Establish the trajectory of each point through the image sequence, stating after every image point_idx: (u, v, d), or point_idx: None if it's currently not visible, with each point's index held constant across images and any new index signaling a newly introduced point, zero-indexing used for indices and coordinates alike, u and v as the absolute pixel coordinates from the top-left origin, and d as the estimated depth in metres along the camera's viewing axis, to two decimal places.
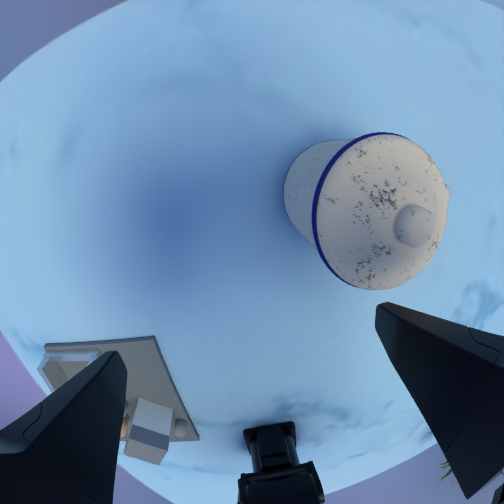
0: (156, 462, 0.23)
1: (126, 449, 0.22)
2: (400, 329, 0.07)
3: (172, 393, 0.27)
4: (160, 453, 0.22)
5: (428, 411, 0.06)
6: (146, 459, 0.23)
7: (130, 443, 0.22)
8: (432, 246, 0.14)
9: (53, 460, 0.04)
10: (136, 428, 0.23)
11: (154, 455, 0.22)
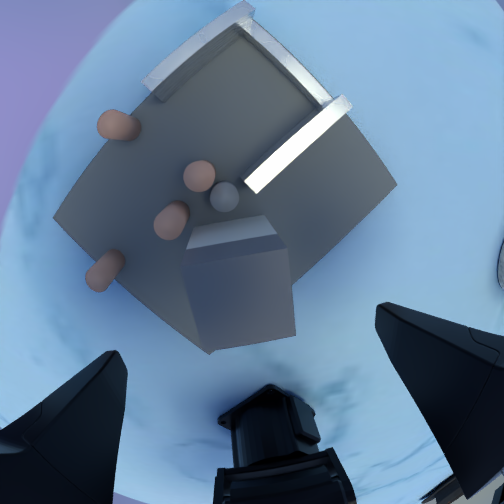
0: (213, 343, 0.12)
1: (216, 264, 0.10)
2: (400, 329, 0.07)
3: (313, 258, 0.17)
4: (270, 331, 0.12)
5: (428, 411, 0.06)
6: (206, 321, 0.11)
7: (264, 260, 0.11)
8: None
9: (53, 459, 0.04)
10: None
11: (247, 326, 0.11)
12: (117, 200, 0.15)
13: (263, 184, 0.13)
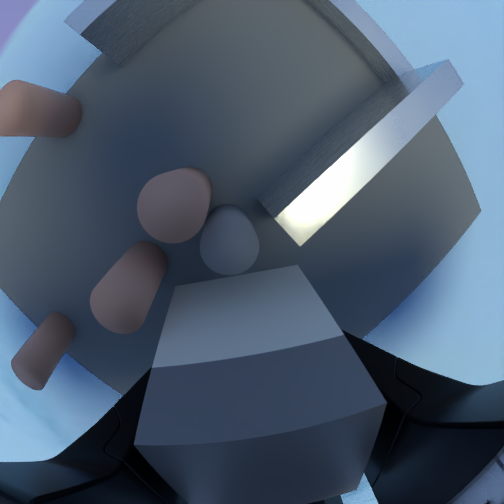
0: None
1: (218, 446, 0.04)
2: None
3: (366, 325, 0.10)
4: (318, 495, 0.05)
5: None
6: (204, 498, 0.04)
7: (331, 431, 0.04)
8: None
9: (143, 473, 0.04)
10: None
11: (279, 498, 0.05)
12: (51, 239, 0.08)
13: (316, 225, 0.06)
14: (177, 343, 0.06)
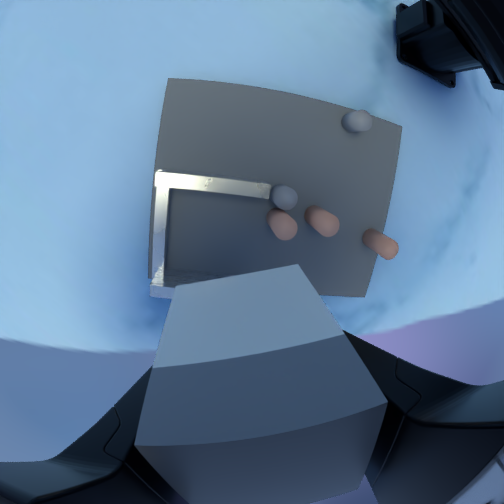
0: None
1: (219, 446, 0.04)
2: None
3: (279, 96, 0.17)
4: (320, 495, 0.05)
5: None
6: (205, 498, 0.04)
7: (332, 430, 0.04)
8: None
9: (143, 473, 0.04)
10: None
11: (280, 498, 0.05)
12: (329, 260, 0.21)
13: (261, 185, 0.16)
14: (177, 343, 0.06)
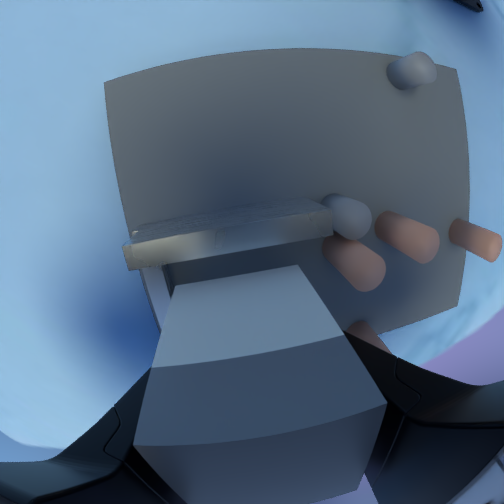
0: None
1: (218, 447, 0.04)
2: None
3: (287, 56, 0.09)
4: (318, 495, 0.05)
5: None
6: (203, 499, 0.04)
7: (332, 431, 0.04)
8: None
9: (143, 473, 0.04)
10: None
11: (278, 499, 0.05)
12: (415, 278, 0.13)
13: (315, 214, 0.08)
14: (177, 343, 0.06)
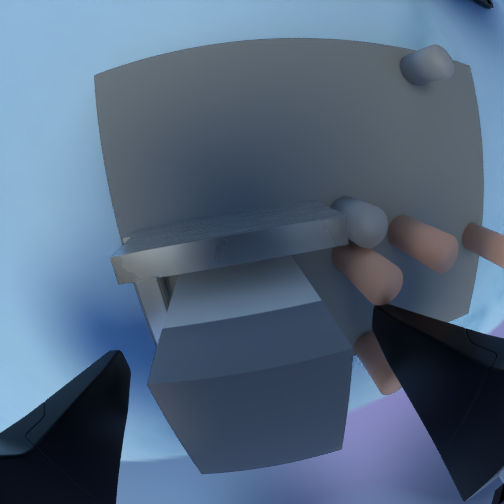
0: (216, 467, 0.06)
1: (216, 382, 0.05)
2: (397, 330, 0.07)
3: (294, 46, 0.08)
4: (305, 451, 0.06)
5: (425, 413, 0.06)
6: (203, 448, 0.06)
7: (308, 371, 0.05)
8: None
9: (56, 460, 0.04)
10: None
11: (270, 451, 0.06)
12: (428, 286, 0.12)
13: (328, 221, 0.07)
14: (183, 310, 0.07)
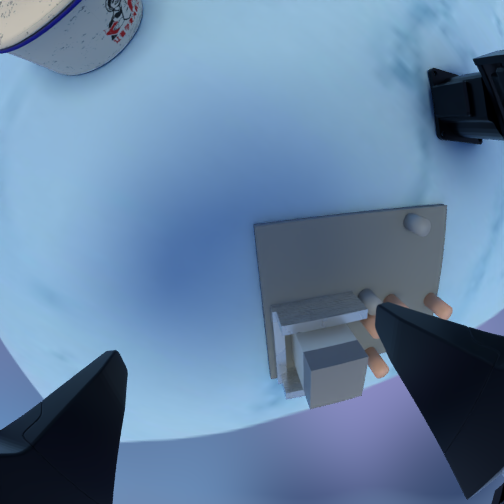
0: (317, 404, 0.18)
1: (331, 367, 0.17)
2: (400, 329, 0.07)
3: (354, 219, 0.20)
4: (349, 394, 0.18)
5: (428, 411, 0.06)
6: (317, 394, 0.17)
7: (355, 363, 0.17)
8: None
9: (53, 460, 0.04)
10: None
11: (338, 394, 0.18)
12: None
13: (361, 311, 0.19)
14: (307, 344, 0.19)
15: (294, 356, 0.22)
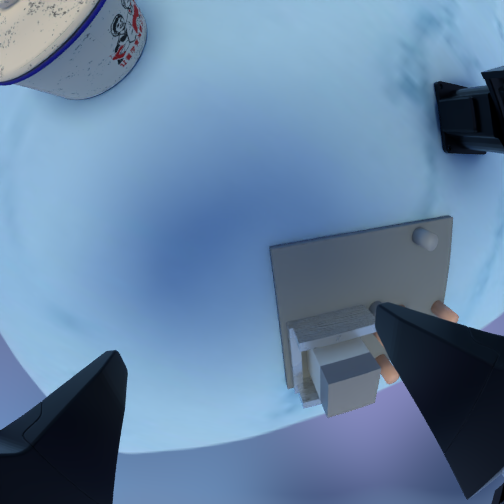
0: (333, 413, 0.18)
1: (347, 380, 0.17)
2: (400, 329, 0.07)
3: (365, 237, 0.21)
4: (363, 403, 0.18)
5: (428, 411, 0.06)
6: (334, 404, 0.18)
7: (369, 375, 0.17)
8: None
9: (53, 460, 0.04)
10: None
11: (353, 403, 0.18)
12: None
13: (373, 325, 0.20)
14: (323, 358, 0.20)
15: (310, 367, 0.23)
